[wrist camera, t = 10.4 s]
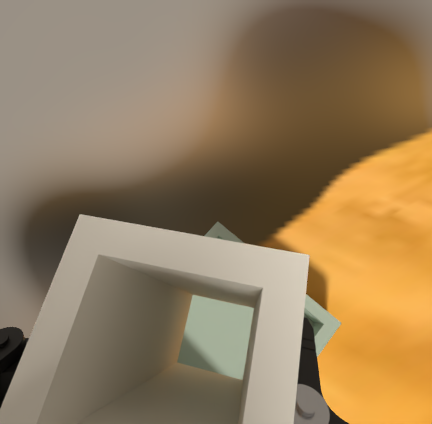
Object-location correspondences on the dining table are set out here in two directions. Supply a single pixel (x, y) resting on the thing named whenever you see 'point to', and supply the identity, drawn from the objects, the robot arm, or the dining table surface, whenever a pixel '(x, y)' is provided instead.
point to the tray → (234, 328)
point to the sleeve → (157, 331)
